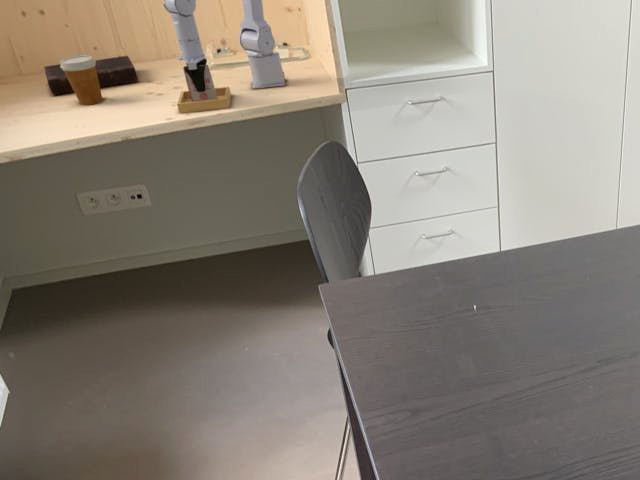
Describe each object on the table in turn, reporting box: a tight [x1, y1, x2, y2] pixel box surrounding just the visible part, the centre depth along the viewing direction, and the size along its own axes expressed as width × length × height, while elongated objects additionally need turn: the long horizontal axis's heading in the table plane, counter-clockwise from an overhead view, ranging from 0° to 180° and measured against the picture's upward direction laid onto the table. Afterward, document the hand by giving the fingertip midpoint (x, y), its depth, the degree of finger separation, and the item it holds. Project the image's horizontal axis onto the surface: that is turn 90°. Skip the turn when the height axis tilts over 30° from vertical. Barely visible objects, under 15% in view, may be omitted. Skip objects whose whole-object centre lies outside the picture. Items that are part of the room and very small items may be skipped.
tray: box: [176, 86, 232, 114], centre depth 227 cm, size 14×13×2 cm
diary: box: [43, 55, 139, 96], centre depth 249 cm, size 19×25×5 cm
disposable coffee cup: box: [60, 54, 103, 106], centre depth 230 cm, size 10×10×12 cm
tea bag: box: [182, 64, 217, 102], centre depth 224 cm, size 4×7×10 cm, turn 106°
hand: (202, 89), depth 225 cm, fingers closed on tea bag, 4 cm apart
